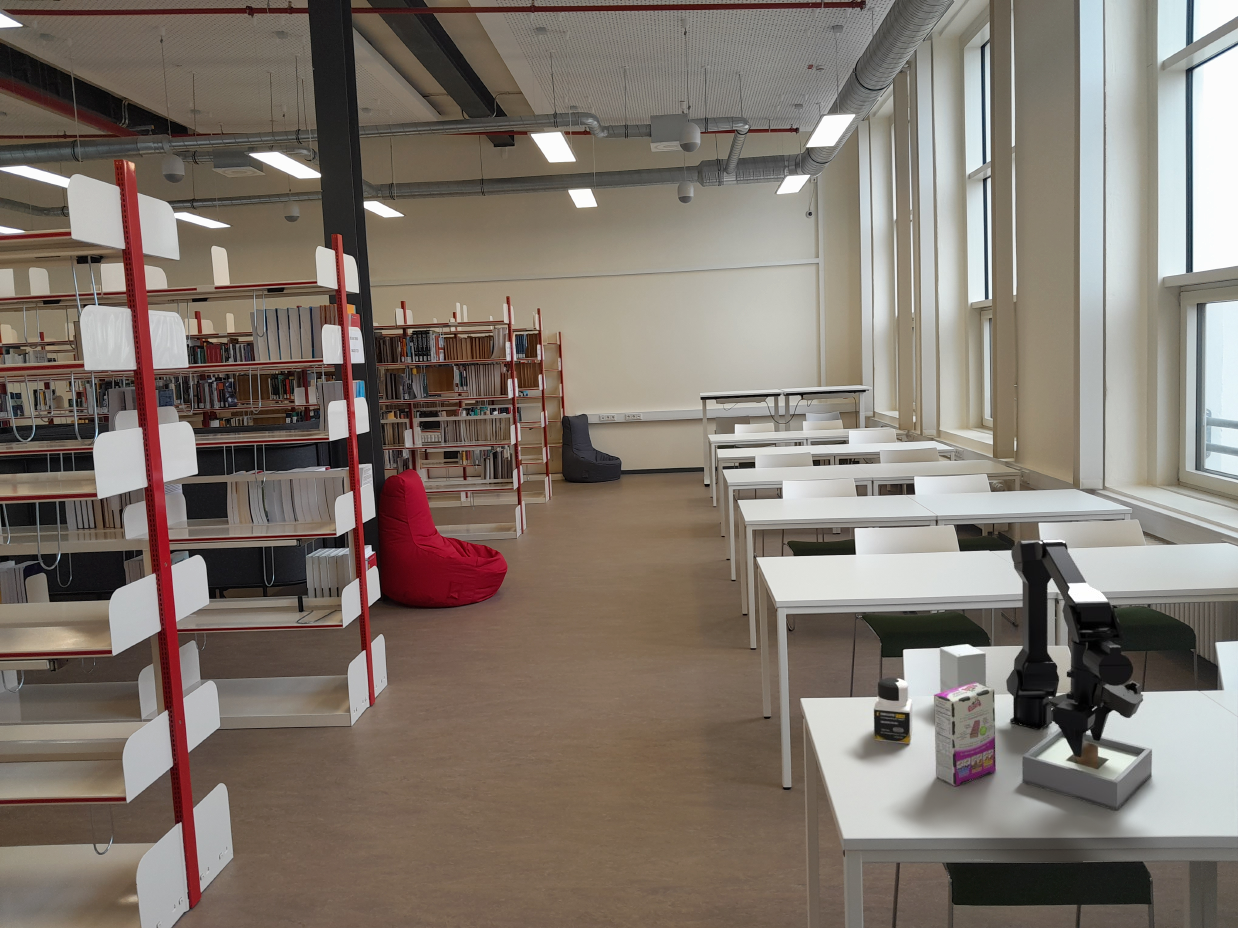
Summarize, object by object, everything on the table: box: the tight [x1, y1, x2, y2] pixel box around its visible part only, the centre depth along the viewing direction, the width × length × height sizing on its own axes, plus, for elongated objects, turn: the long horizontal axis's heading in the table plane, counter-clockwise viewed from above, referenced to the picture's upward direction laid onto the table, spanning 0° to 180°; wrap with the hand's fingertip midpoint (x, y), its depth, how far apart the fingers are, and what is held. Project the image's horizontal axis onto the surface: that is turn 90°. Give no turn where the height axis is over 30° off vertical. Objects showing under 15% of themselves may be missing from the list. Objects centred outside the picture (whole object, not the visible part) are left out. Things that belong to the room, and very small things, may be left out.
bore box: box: [1021, 727, 1153, 811], centre depth 164 cm, size 16×18×5 cm
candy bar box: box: [933, 682, 997, 787], centre depth 167 cm, size 11×5×16 cm, turn 117°
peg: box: [1076, 743, 1098, 769], centre depth 164 cm, size 4×4×6 cm
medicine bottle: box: [873, 677, 913, 745], centre depth 186 cm, size 7×7×12 cm
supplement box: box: [939, 643, 987, 693], centre depth 201 cm, size 7×7×13 cm
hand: (1087, 748), depth 163 cm, fingers open, 9 cm apart
